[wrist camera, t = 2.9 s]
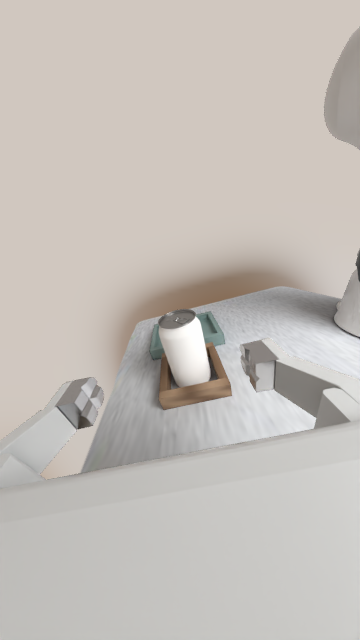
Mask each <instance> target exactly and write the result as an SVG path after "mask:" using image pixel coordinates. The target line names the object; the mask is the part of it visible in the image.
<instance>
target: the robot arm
mask: <svg viewBox="0 0 360 640" xmlns="http://www.w3.org/2000/svg"><path fill="white" fill-rule="evenodd" d="M324 116H325V122H326V126H327V128H328V130H329V132H330V133H331V134H332V135H333V136H334V137H335V138H337V139H339V140H341V141H344V142H347V143H349V144H351V145H354V146H355V147H357V148H358V149H359V150H360V27H359V28H358V29H357V30H356V31H355V32H354V33H353V35H352V36H351V37H350V39H349V41H348V42H347V44H346V46H345V47H344V49H343V51H342V53H341V55H340V57H339V59H338V61H337V63H336V66H335V68H334V70H333V73H332V76H331V78H330V81H329V85H328V88H327V92H326V97H325V104H324ZM357 256H358V257H357V261H356V266H357V270H355V271H354V272H353V273H352V275H351V278H350V280H349V283H348V285H347V288H346V290H345V293H344V296H343V298H342V301H339V302H338V303H337V306H336V307H337V310H338V311H337V312H336V314H335V316H334V320H335V322H336V324H337V325H338V326H339V327H341V328H342V329H344V330H345V331H347V332H349V333H351V334H353V335H356V336H358V337H360V250H359V251H358V254H357ZM240 351H241V353H242V356H241V364H242V367H243V370H244V372H245V374H246V375H247V376H249V377H250V382H251V384H252V386H253V387H254V389H255V391H256V392H262V391H267V390H273V389H274V390H275V391H276V392H278V393H279V394H281V395H282V396H284V397H285V398H287V399H288V400H290V401H291V402H293V403H294V404H296V405H297V406H299V407H300V408H302V409H304V410H305V411H307V412H308V413H310V414H311V415H313V416H314V417H316V422H315V426H314V429H311V430H305V431H300V432H295V433H290V434H284V435H279V436H274V437H269V438H263V439H258V440H253V441H248V442H242V443H237V444H232V445H227V446H221V447H216V448H211V449H206V450H200V451H195V452H190V453H184V454H179V455H174V456H169V457H163V458H158V459H153V460H148V461H143V462H137V463H132V464H127V465H122V466H116V467H111V468H106V469H101V470H95V471H90V472H85V473H80V474H74V475H69V476H64V477H59V478H53V479H48V480H46V479H45V478H43V477H42V476H40V474H41V472H42V471H43V470H44V469H45V468H46V466H47V465H48V464H49V463H50V462H51V461H52V459H53V458H54V457H55V456H56V455H57V453H58V452H59V451H60V450H61V449H62V448H63V446H64V445H65V444H66V443H67V442H68V441H69V439H70V438H71V437H72V436H73V435H74V433H75V432H76V431H77V429H81V428H85V427H90V426H93V424H94V422H95V420H96V417H97V415H98V411H97V409H98V408H99V407H100V406H101V405H102V403H103V400H104V393H103V390H102V388H101V387H99V386H97V381H96V379H95V378H94V377H89V378H84V379H79V380H75V381H69V382H66V383H64V384H63V385H62V386H61V387H60V389H59V390H58V391H57V392H56V394H55V395H54V396H53V398H52V399H51V400H50V402H49V403H48V404H47V405H46V407H45V408H44V409H43V410H40V411H39V412H38V413H36V414H35V415H34V416H32V417H31V418H30V419H28V420H27V421H26V422H24V423H23V424H22V425H20V426H19V427H18V428H16V429H15V430H14V431H13V432H11V433H10V434H9V435H7V436H6V437H5V438H4V439H2V440H1V441H0V640H360V379H357V378H355V377H352V376H349V375H346V374H343V373H340V372H337V371H335V370H332V369H329V368H326V367H323V366H320V365H317V364H314V363H312V362H309V361H306V360H303V359H300V358H297V357H290V356H289V355H288V354H287V353H286V352H285V351H284V350H283V349H282V348H281V347H280V346H279V345H278V344H276V343H275V342H274V341H273V340H272V339H271V338H266V339H262V340H259V341H254V342H250V343H245V344H241V345H240Z"/></svg>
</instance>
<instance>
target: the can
mask: <svg viewBox="0 0 360 640" xmlns="http://www.w3.org/2000/svg"><path fill="white" fill-rule="evenodd" d="M158 325H159V336H160V340H161V343H162V345H163V348H164V351H165V354H166V357H167V360H168V363H169V365H170V368H171V371H172V374H173V377H174V379H175V382H176V384H177V385H178V386H179V387H180V388H181V387H185V386H190V385H195V384H199V383H204V382H208V381H209V379H210V376H211V373H210V367H209V362H208V357H207V352H206V347H205V342H204V337H203V332H202V327H201V323H200V321H199V319H198V318H197V317H196V313H195V312H194V311H192V310H189V309H181V310H175V311H172V312H170V313H168V314H165V315H164V316H162V317H161V318H160V319H159V321H158Z"/></svg>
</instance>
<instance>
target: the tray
mask: <svg viewBox="0 0 360 640" xmlns="http://www.w3.org/2000/svg"><path fill="white" fill-rule="evenodd" d="M196 317H197V318H198V319H199V321H200V323H201V327H202V332H203V337H204V342H205V344H206V343H210V342H213V344H214V346H217V345H221V344H225V340H224V334H223V332H222V330H221V329H220V327H219V325H218V323H217V322H216V320H215V318H214V316H213V315H212V313H211V311H209V312H205V313H201V314H197V315H196ZM162 353H165V351H164V348H163V345H162V343H161V340H160V336H159V325H158V324H155V325H154V329H153V335H152V341H151V346H150V354H151V356H152V358H153V360H156V359H160V358H162Z"/></svg>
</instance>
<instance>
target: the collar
mask: <svg viewBox="0 0 360 640" xmlns="http://www.w3.org/2000/svg"><path fill="white" fill-rule="evenodd" d="M205 347H206V352H207V357H210V359H211V362H212V365H213V367H214V370H215V373H216V376H217V379H218V380H213V381H208V382H204V383H199V384H195V385H190V386H185V387H181V388H176V389H172V390H171V368H170V365H169V363H168V360H167V357H166V354H165V353H162V360H161V375H160V389H159V401H160V403H161V405H162V407H163V410H166V409H171V408H175V407H180V406H185V405H190V404H194V403H199V402H204V401H209V400H213V399H218V398H223V397H227V396H232V393H231V385H230V382H229V380H228V377H227V375H226V373H225V370H224V368H223V366H222V363H221V361H220V358H219V356H218V354H217V351H216V349H215V347H214V344H213V342H210V343H206V344H205Z"/></svg>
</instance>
